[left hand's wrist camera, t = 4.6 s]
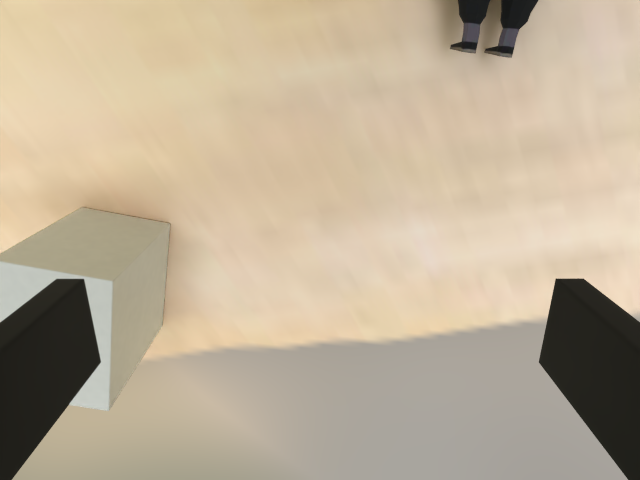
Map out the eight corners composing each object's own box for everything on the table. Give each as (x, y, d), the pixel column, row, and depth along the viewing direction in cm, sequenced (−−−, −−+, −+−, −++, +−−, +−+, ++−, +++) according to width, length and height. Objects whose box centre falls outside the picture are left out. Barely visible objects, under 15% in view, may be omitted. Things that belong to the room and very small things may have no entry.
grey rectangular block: (81, 312, 34) (-1, 394, 25) (81, 206, 31) (-12, 259, 22) (162, 326, 34) (109, 411, 25) (170, 223, 31) (113, 281, 22)
